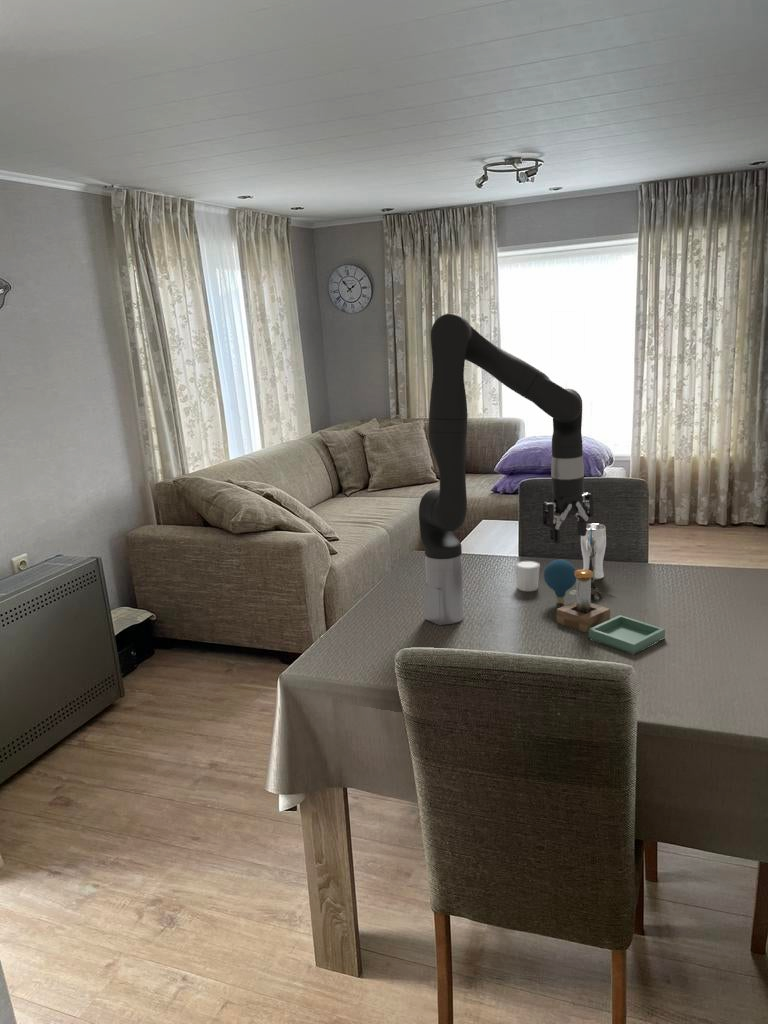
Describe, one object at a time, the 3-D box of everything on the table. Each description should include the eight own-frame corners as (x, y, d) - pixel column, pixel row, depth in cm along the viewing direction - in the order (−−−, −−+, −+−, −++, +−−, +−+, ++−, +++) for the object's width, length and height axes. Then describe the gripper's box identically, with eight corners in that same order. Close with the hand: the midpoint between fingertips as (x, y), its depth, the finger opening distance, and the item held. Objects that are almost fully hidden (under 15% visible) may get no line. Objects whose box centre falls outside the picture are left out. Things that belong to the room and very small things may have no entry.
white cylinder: (542, 591, 200) (542, 567, 199) (517, 592, 200) (517, 568, 199) (537, 583, 207) (537, 559, 205) (513, 584, 207) (513, 560, 205)
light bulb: (553, 611, 186) (553, 566, 183) (538, 600, 194) (538, 557, 191) (582, 606, 188) (583, 562, 185) (566, 595, 196) (566, 553, 193)
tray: (633, 655, 159) (634, 644, 159) (588, 638, 169) (588, 629, 168) (664, 639, 166) (665, 629, 166) (619, 624, 176) (620, 614, 175)
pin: (584, 627, 175) (585, 576, 172) (570, 622, 179) (570, 572, 175) (596, 622, 178) (596, 572, 175) (581, 617, 181) (582, 568, 178)
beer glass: (579, 579, 208) (580, 529, 204) (580, 571, 214) (581, 522, 210) (605, 580, 206) (606, 530, 202) (605, 572, 212) (606, 523, 208)
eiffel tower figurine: (624, 596, 195) (625, 548, 192) (616, 609, 186) (617, 560, 183) (568, 589, 202) (568, 543, 199) (558, 602, 194) (558, 554, 190)
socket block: (586, 632, 172) (586, 619, 171) (556, 622, 179) (556, 609, 178) (609, 622, 177) (610, 608, 176) (579, 612, 184) (579, 599, 183)
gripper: (555, 482, 166) (557, 549, 170) (601, 471, 172) (601, 536, 176) (533, 477, 172) (536, 542, 176) (578, 467, 179) (579, 529, 183)
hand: (568, 539), depth 176 cm, fingers open, 8 cm apart
